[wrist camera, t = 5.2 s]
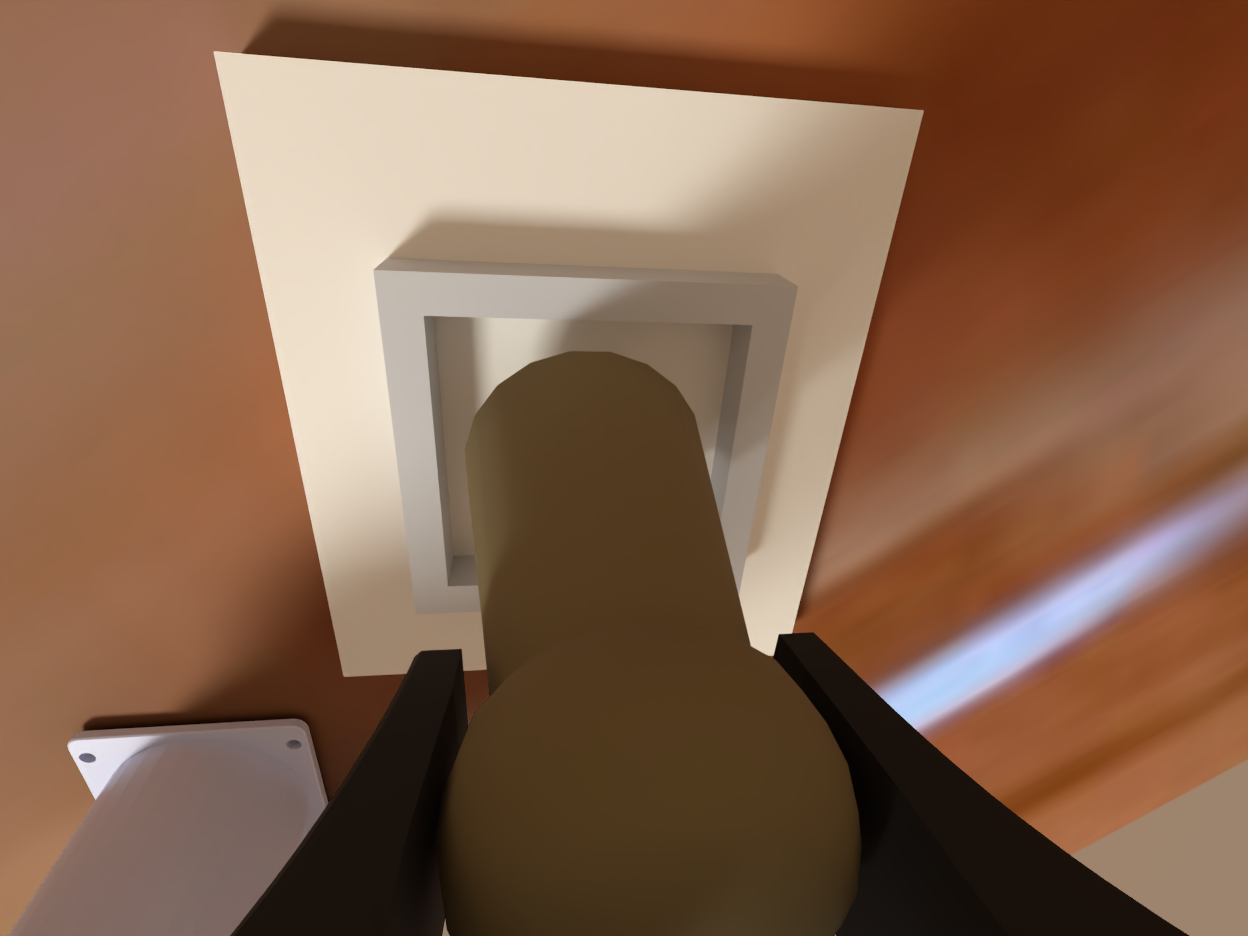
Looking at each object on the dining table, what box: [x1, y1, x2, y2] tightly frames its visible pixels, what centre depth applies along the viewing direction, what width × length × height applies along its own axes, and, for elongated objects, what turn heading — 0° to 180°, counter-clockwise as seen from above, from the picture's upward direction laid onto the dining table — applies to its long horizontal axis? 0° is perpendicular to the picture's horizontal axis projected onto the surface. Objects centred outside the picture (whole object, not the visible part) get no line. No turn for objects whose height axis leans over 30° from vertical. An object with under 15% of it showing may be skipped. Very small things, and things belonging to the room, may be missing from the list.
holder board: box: [214, 51, 924, 677], centre depth 18 cm, size 18×16×3 cm
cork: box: [435, 351, 862, 936], centre depth 11 cm, size 6×6×11 cm
